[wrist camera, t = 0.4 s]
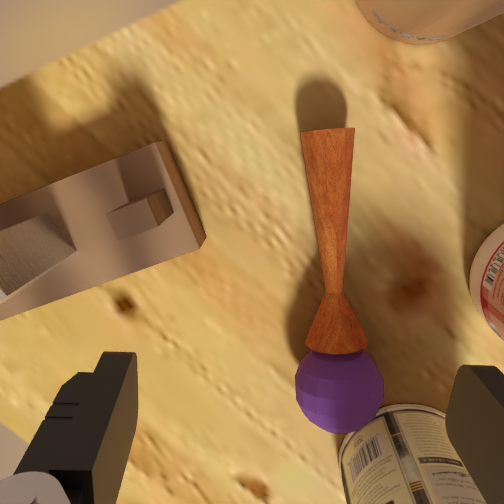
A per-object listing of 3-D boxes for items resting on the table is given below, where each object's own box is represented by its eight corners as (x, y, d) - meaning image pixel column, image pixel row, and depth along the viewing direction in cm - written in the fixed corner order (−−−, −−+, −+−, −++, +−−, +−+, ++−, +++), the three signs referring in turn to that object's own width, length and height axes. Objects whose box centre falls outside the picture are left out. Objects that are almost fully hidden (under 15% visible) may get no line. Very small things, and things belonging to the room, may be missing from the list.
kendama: (394, 122, 26) (400, 444, 30) (356, 130, 32) (365, 398, 35) (289, 130, 25) (309, 458, 29) (271, 137, 31) (289, 409, 35)
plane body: (166, 140, 30) (135, 145, 24) (206, 237, 32) (187, 268, 25) (-87, 241, 33) (-179, 271, 26) (-38, 325, 35) (-113, 374, 28)
